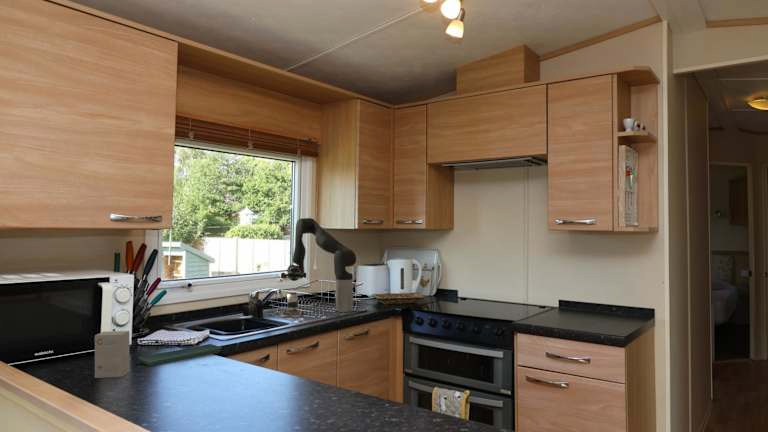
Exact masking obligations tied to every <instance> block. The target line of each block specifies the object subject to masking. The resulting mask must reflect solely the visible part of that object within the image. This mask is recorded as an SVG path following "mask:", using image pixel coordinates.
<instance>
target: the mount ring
mask: <svg viewBox="0 0 768 432" xmlns="http://www.w3.org/2000/svg"><path fill="white" fill-rule="evenodd" d="M300 312H301V310H299V309H298V310H287V309H286V310H282V311H281V314H282V315H286V316H293V315H299V314H300Z"/></svg>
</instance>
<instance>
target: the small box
mask: <svg viewBox="0 0 768 432" xmlns="http://www.w3.org/2000/svg"><path fill="white" fill-rule="evenodd" d="M130 355H131V354H130V330H118V331H117V330H115V331H114V330H113V331H111V330H110V331H108V330H107V331H102V332H100V333H97V334H95V335H94V379H102V378H122V377H124V376H125V375H127V374H129V372H131V371H130V362H131V360H130V359H131V358H130V357H131V356H130Z"/></svg>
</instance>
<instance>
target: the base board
mask: <svg viewBox="0 0 768 432" xmlns="http://www.w3.org/2000/svg"><path fill="white" fill-rule="evenodd" d="M284 317H285V318H301V317H302V312H301V311H300V314H299V315H293V316H286V315H282V313H281V315H280V318H281V319H282V318H284Z"/></svg>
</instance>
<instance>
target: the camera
mask: <svg viewBox="0 0 768 432" xmlns="http://www.w3.org/2000/svg"><path fill="white" fill-rule="evenodd" d="M242 316H243V317H251V316H252V317H253V319H255V320H259V321H260V320H263V319H264V302H263V301H262V299H260V298H259V296H253V297H252V296H251V299H250V300H249V305H248V304H245V305H243V306H242Z"/></svg>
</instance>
